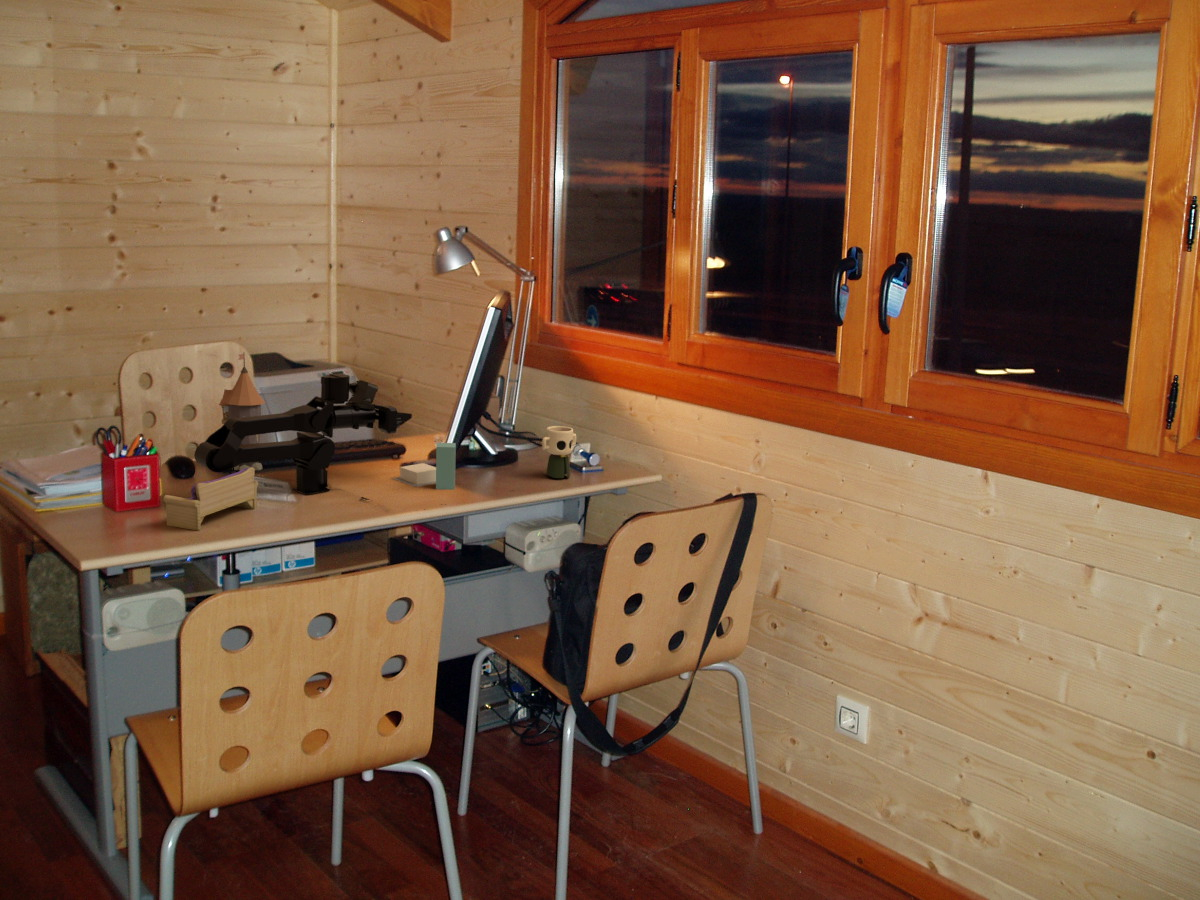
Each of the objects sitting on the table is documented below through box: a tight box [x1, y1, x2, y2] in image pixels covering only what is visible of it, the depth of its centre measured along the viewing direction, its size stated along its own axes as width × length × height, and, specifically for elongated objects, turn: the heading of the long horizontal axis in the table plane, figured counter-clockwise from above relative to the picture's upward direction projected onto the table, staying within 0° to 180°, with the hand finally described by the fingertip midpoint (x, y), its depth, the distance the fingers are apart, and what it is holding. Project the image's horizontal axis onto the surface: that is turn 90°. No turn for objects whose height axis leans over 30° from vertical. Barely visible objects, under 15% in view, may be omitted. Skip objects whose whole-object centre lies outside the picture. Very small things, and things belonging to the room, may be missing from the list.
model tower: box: [218, 352, 266, 472], centre depth 287 cm, size 10×11×30 cm
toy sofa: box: [163, 467, 259, 531], centre depth 247 cm, size 21×9×10 cm, turn 159°
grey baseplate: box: [391, 476, 436, 488], centre depth 281 cm, size 10×10×2 cm
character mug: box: [541, 425, 577, 479], centre depth 294 cm, size 11×7×13 cm, turn 130°
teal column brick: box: [435, 442, 457, 491], centre depth 274 cm, size 4×4×12 cm
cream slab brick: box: [399, 462, 436, 485], centre depth 280 cm, size 7×7×3 cm
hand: (401, 412), depth 285 cm, fingers open, 9 cm apart
